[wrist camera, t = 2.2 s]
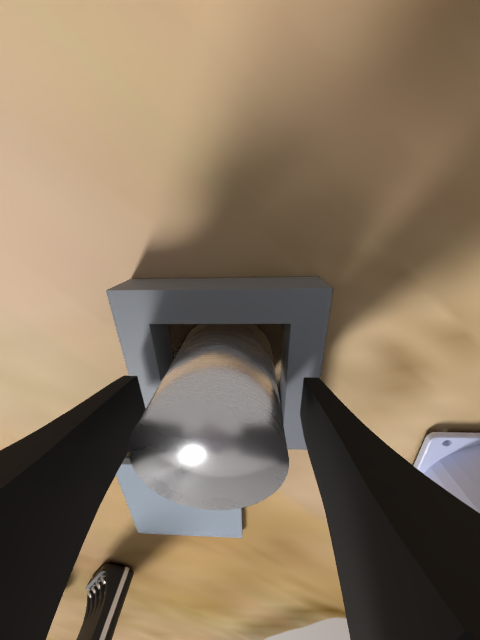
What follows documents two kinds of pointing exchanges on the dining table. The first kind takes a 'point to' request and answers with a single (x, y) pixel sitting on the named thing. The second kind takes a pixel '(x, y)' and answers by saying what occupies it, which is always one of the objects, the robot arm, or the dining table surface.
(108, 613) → the battery charger
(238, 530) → the mat
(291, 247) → the dining table surface
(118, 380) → the robot arm
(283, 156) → the dining table surface
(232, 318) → the frame
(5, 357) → the dining table surface
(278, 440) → the shiny metal cylinder
